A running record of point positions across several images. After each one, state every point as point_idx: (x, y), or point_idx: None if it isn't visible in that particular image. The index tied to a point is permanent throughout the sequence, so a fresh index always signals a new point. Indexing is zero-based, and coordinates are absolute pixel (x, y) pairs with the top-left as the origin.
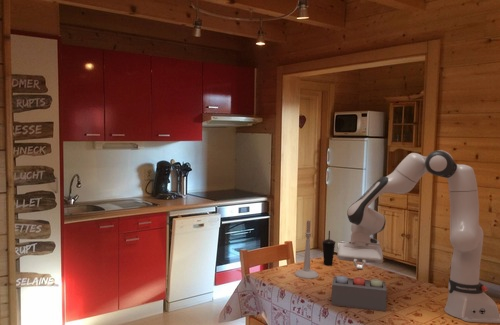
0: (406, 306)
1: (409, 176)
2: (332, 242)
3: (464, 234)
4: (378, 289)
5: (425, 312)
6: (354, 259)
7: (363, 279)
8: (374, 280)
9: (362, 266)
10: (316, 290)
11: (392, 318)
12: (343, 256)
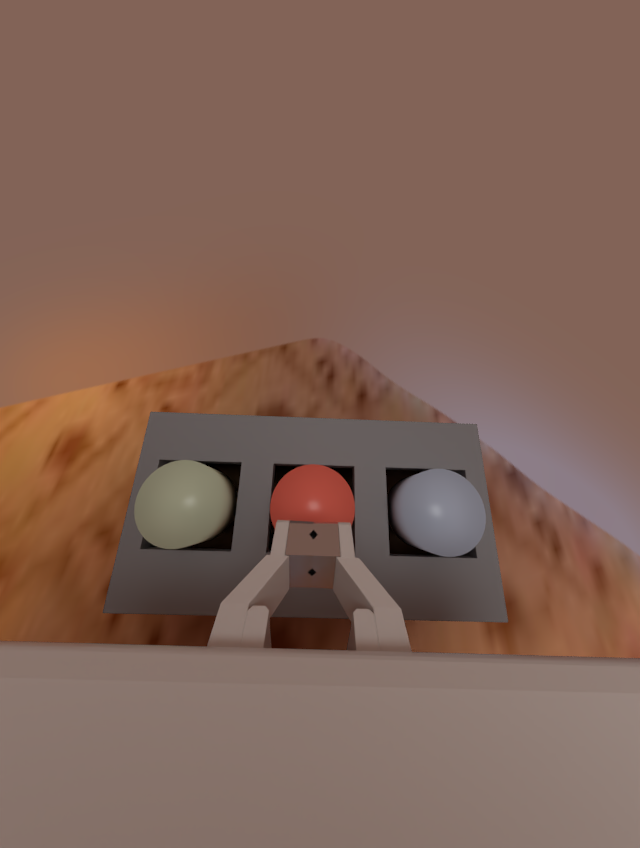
0: (81, 533)
1: None
2: None
3: None
4: (199, 418)
5: (19, 479)
6: (401, 637)
7: (280, 503)
8: (195, 502)
9: (278, 538)
10: (535, 647)
11: (192, 380)
12: (626, 659)
